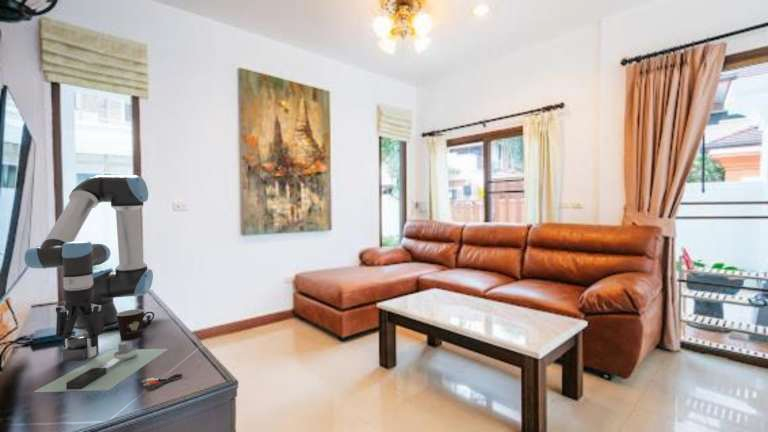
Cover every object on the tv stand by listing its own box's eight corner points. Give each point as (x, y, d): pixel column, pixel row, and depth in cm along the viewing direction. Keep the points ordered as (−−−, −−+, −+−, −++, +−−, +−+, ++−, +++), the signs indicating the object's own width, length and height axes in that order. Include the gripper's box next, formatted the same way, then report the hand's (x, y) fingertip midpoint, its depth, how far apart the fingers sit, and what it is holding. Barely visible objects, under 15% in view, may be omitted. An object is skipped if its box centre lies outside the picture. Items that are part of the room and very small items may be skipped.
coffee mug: (114, 344, 129) (114, 317, 129) (119, 336, 137) (118, 311, 137) (152, 338, 135) (151, 312, 134) (155, 331, 142) (154, 306, 142)
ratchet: (122, 354, 119) (122, 339, 119) (141, 353, 119) (140, 339, 119) (62, 389, 96) (62, 371, 96) (85, 388, 96) (84, 370, 96)
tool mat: (110, 351, 123) (110, 350, 123) (168, 349, 123) (168, 348, 123) (33, 393, 95) (32, 392, 95) (108, 391, 95) (108, 390, 95)
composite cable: (181, 375, 104) (181, 367, 104) (184, 382, 101) (184, 373, 101) (141, 386, 98) (141, 378, 98) (143, 393, 95) (142, 384, 95)
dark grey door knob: (79, 354, 121) (78, 333, 121) (98, 353, 121) (97, 333, 121) (63, 362, 114) (62, 340, 114) (83, 361, 115) (82, 340, 114)
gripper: (38, 291, 113) (40, 362, 114) (99, 290, 114) (102, 360, 114) (59, 286, 121) (61, 352, 121) (116, 284, 121) (118, 351, 122)
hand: (81, 356), depth 118 cm, fingers closed on dark grey door knob, 6 cm apart
